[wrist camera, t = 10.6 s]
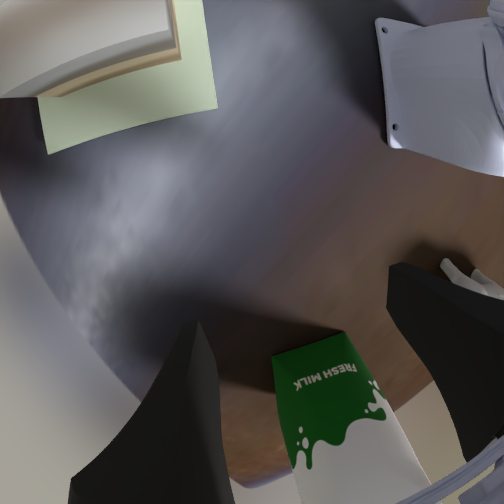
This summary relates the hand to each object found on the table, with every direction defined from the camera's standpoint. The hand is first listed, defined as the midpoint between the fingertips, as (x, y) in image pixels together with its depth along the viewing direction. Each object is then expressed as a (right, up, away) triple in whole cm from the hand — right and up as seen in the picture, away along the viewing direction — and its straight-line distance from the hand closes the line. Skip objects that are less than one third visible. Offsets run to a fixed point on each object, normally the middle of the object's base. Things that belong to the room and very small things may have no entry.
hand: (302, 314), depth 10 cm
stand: (-10, +15, +2) cm, 18 cm away
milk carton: (+4, -9, +16) cm, 19 cm away
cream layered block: (-9, +13, +1) cm, 16 cm away
